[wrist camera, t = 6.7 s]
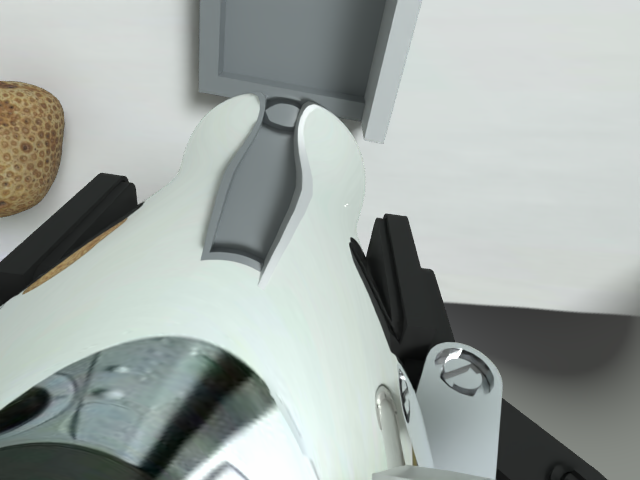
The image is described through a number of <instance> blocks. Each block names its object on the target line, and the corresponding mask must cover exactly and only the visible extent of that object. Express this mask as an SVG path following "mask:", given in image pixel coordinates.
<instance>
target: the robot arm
mask: <svg viewBox="0 0 640 480" xmlns="http://www.w3.org/2000/svg"><path fill="white" fill-rule="evenodd" d="M137 205H138V204H137V196H136V188H135V185H134V184H133V183H129V181H128V179H127V177H125V176H120V175H113V174H106V173H100V174H98V175H97V176H96V177H95V178H94V179H93V180H92V181H91V182H89V183H88V184H87V185H86V186H85V187H84V188H83V189H82V190H80V191H79V192H78V193H77V194H76V195H75V196H74V197H73V198H71V199H70V200H69V201H68V202H67V203H66V204H65V205H64V206H63V207H61V208H60V209H59V210H58V211H57V212H56V213H55V214H54V215H52V216H51V217H50V218H49V219H48V220H47V221H46V222H45V223H43V224H42V225H41V226H40V227H39V228H38V229H37V230H36V231H34V232H33V233H32V234H31V235H30V236H29V237H28V238H27V239H26V240H24V241H23V242H22V243H21V244H20V245H19V246H18V247H17V248H15V249H14V250H13V251H12V252H11V253H10V254H9V255H8V256H6V257H5V258H4V259H3V260H2V261H1V262H0V306H1V305H2V304H4V303H5V302H6V301H8V300H9V299H10V298H11V297H13V296H14V295H15V294H16V293H18V292H19V291H20V290H21V289H23V288H24V287H25V286H27V285H28V284H29V283H30V282H32V281H33V280H34V279H35V278H37V277H38V276H39V275H41V274H42V273H43V272H44V271H46V270H47V269H48V268H49V267H51V266H52V265H53V264H54V263H56V262H57V261H58V260H60V259H61V258H62V257H63V256H65V255H66V254H67V253H69V252H70V251H72V250H73V249H75V248H76V247H77V246H79V245H80V244H82V243H83V242H85V241H86V240H88V239H89V238H90V237H92V236H93V235H95V234H96V233H98V232H99V231H101V230H102V229H103V228H105V227H106V226H108V225H109V224H111V223H112V222H113V221H115V220H116V219H118V218H119V217H121V216H122V215H124V214H125V213H127V212H128V211H130V210H131V209H133V208H134V207H136V206H137ZM366 260H367V262H368V264H369V267H370V269H371V272H372V274H373V277H374V279H375V281H376V284H377V286H378V289H379V291H380V294H381V297H382V299H383V302H384V304H385V307H386V310H387V312H388V315H389V317H390V320H391V322H392V325H393V328H394V330H395V333H396V335H397V338H398V340H399V344H400V347H401V350H402V353H403V356H404V359H405V362H406V365H407V369H408V372H409V375H410V378H411V381H412V384H413V387H414V390H415V394H416V397H417V400H418V403H419V406H420V409H421V412H422V416H423V419H424V423H425V427H426V432H427V436H428V441H429V445H430V450H431V454H432V459H433V463H434V468H435V469H434V468H426V467H419V466H412V465H405V466H400V467H395V468H391V469H387V470H384V471H380V472H377V473H373V474H372V480H607V479H606V478H605V477H604V476H603V475H602V474H600V473H599V472H598V471H597V470H596V469H594V468H593V467H592V466H590V465H589V464H588V463H586V462H585V461H584V460H583V459H581V458H580V457H578V456H577V455H576V454H575V453H573V452H572V451H571V450H570V449H568V448H567V447H566V446H564V445H563V444H562V443H560V442H559V441H558V440H556V439H555V438H554V437H553V436H551V435H550V434H549V433H547V432H546V431H545V430H543V429H542V428H541V427H539V426H538V425H537V424H536V423H534V422H533V421H532V420H530V419H529V418H528V417H526V416H525V415H524V414H522V413H521V412H520V411H519V410H517V409H516V408H515V407H513V406H512V405H511V404H509V403H508V402H507V401H505V400H504V399H503V398H502V389H503V386H502V378H501V376H500V374H499V372H498V370H497V368H496V366H495V365H494V364H493V363H492V362H491V361H490V359H488V358H487V357H486V356H485V355H483V354H482V353H481V352H480V351H478V350H476V349H474V348H472V347H470V346H467V345H464V344H460V343H455V340H454V337H453V333H452V330H451V327H450V324H449V320H448V317H447V314H446V310H445V307H444V304H443V300H442V297H441V294H440V290H439V287H438V284H437V280H436V277H435V274H434V272H433V271H432V270H431V269H425V268H421V266H420V262H419V259H418V255H417V251H416V247H415V244H414V240H413V236H412V232H411V228H410V225H409V221H408V218H407V217H406V216H400V215H393V214H385V215H384V217H383V219H382V218H376V220H375V223H374V227H373V231H372V235H371V239H370V243H369V247H368V251H367V255H366Z"/></svg>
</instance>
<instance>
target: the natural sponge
mask: <svg viewBox="0 0 640 480" xmlns="http://www.w3.org/2000/svg"><path fill="white" fill-rule="evenodd" d="M64 124H65V123H64V112H63V109H62V106H61V104H60V102H59V100H58V99H57V98H56V97H55V96H53V95H52V94H51V93H49V92H48V91H46V90H44V89H42V88H40V87H37V86H34V85H31V84H27V83H23V82H15V81H0V217H6V216H11V215H14V214H17V213H20V212H22V211H25V210H27V209H30V208H32V207H33V206H35V205H37V204H38V203H39V202H40V201H41V200H42V199H43V198H44V196H45V195H46V194H47V192H48V191H49V189H50V187H51V185H52V184H53V182H54V180H55V178H56V175H57V172H58V169H59V166H60V160H61V154H62V141H63V134H64Z"/></svg>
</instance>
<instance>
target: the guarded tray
mask: <svg viewBox="0 0 640 480" xmlns="http://www.w3.org/2000/svg"><path fill="white" fill-rule="evenodd" d="M421 3H422V0H200V27H199V92H203V93H208V94H214V95H219V96H225V97H230V98H231V97H233V96H236V95H239V94H242V93H246V92H250V91H256V90H281V91H288V92H292V93H296V94H299V95H302V96H305V97H307V98H310V99H312V100H314V101H316V102H317V103H319V104H321V105H322V106H324V107H325V108H327V109H328V110H329V111H331V112H332V113H333V114H334V115H336V116H337V117H339V118H345V119H350V120H355V121H361V123H362V130H363V137H364V140H365V141H371V142H376V143H382V144H384V140H385V137H386V133H387V129H388V125H389V122H390V118H391V114H392V111H393V107H394V103H395V99H396V96H397V92H398V88H399V85H400V81H401V77H402V73H403V70H404V66H405V62H406V59H407V55H408V51H409V47H410V44H411V40H412V36H413V33H414V29H415V25H416V21H417V18H418V14H419V10H420V7H421Z"/></svg>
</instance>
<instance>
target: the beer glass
mask: <svg viewBox="0 0 640 480" xmlns="http://www.w3.org/2000/svg"><path fill="white" fill-rule="evenodd" d="M365 185H366V176H365V167H364V162H363V158H362V154H361V152H360V149H359V147H358V144H357V142H356V140H355V139H354V137H353V135H352V134H351V132H350V131H349V130H348V128H347V127H346V126H345V125H344V124H343V122H342V121H341V120H340V119H339V118H338V117H337V116H336V115H334V114H333V113H332V112H331V111H329V110H328V109H327V108H325V107H324V106H322V105H321V104H319V103H317V102H316V101H314V100H312V99H310V98H307V97H305V96H302V95H299V94H296V93H292V92H288V91H281V90H256V91H250V92H246V93H242V94H239V95H236V96H233V97H231V98H229V99H227V100H225V101H223V102H221V103H220V104H218V105H217V106H215V107H214V108H213V109H212V110H210V111H209V112H208V113H207V114H206V115H205V116H204V117H203V118H202V120H201V121H200V122H199V123H198V125H197V126H196V128H195V129H194V131H193V133H192V134H191V136H190V138H189V141H188V143H187V146H186V148H185V151H184V155H183V158H182V162H181V165H180V169H179V172H178V174H177V175H176V177H175V178H174V179H173V180H172V181H171V182H170V183H168V184H167V185H166V186H164V187H163V188H162V189H160V190H159V191H158V192H156V193H155V194H154V195H152V196H151V197H149V198H148V199H146V200H145V201H143V202H142V203H140V204H139V205H137V206H136V207H134V208H133V209H131V210H130V211H128V212H127V213H125V214H124V215H122V216H121V217H119V218H118V219H116V220H115V221H113V222H112V223H111V224H109V225H108V226H106V227H105V228H103V229H102V230H101V231H99V232H98V233H96V234H95V235H93V236H92V237H90V238H89V239H88V240H86V241H85V242H83V243H82V244H80V245H79V246H77V247H76V248H75V249H73V250H72V251H70V252H69V253H67V254H66V255H65V256H63V257H62V258H61V259H60V260H58V261H57V262H56V263H54V264H53V265H52V266H51V267H49V268H48V269H47V270H46V271H44V272H43V273H42V274H41V275H39V276H38V277H37V278H35V279H34V280H33V281H32V282H30V283H29V284H28V285H27V286H25V287H24V288H23V289H21V290H20V291H19V292H18V293H16V294H15V295H14V296H13V297H11V298H10V299H9V300H8V301H6V302H5V303H4V304H2V305H1V306H0V480H372V474H373V473H377V472H380V471H384V470H387V469H391V468H395V467H400V466H405V465H412V466H419V467H426V468H434V463H433V459H432V454H431V450H430V445H429V441H428V436H427V432H426V427H425V423H424V419H423V416H422V412H421V409H420V406H419V403H418V400H417V397H416V394H415V390H414V387H413V384H412V381H411V378H410V375H409V372H408V369H407V365H406V362H405V359H404V356H403V353H402V350H401V347H400V344H399V340H398V338H397V335H396V333H395V330H394V328H393V325H392V322H391V320H390V317H389V315H388V312H387V310H386V307H385V304H384V302H383V299H382V297H381V294H380V291H379V289H378V286H377V284H376V281H375V279H374V277H373V274H372V272H371V269H370V267H369V264H368V262H367V260H366V257H365V255H364V252H363V249H362V247H361V244H360V241H359V238H358V235H357V223H358V220H359V216H360V213H361V209H362V205H363V201H364V196H365ZM434 469H435V468H434Z"/></svg>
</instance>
